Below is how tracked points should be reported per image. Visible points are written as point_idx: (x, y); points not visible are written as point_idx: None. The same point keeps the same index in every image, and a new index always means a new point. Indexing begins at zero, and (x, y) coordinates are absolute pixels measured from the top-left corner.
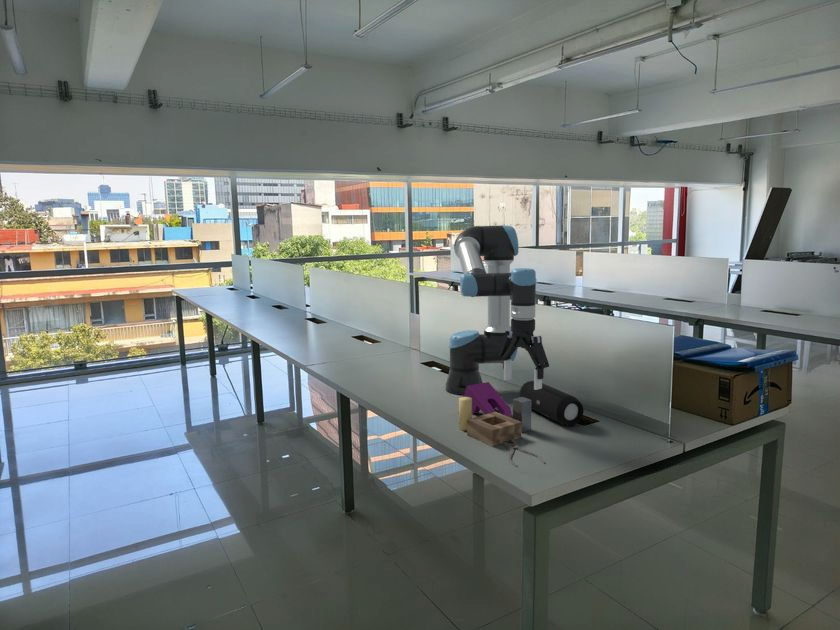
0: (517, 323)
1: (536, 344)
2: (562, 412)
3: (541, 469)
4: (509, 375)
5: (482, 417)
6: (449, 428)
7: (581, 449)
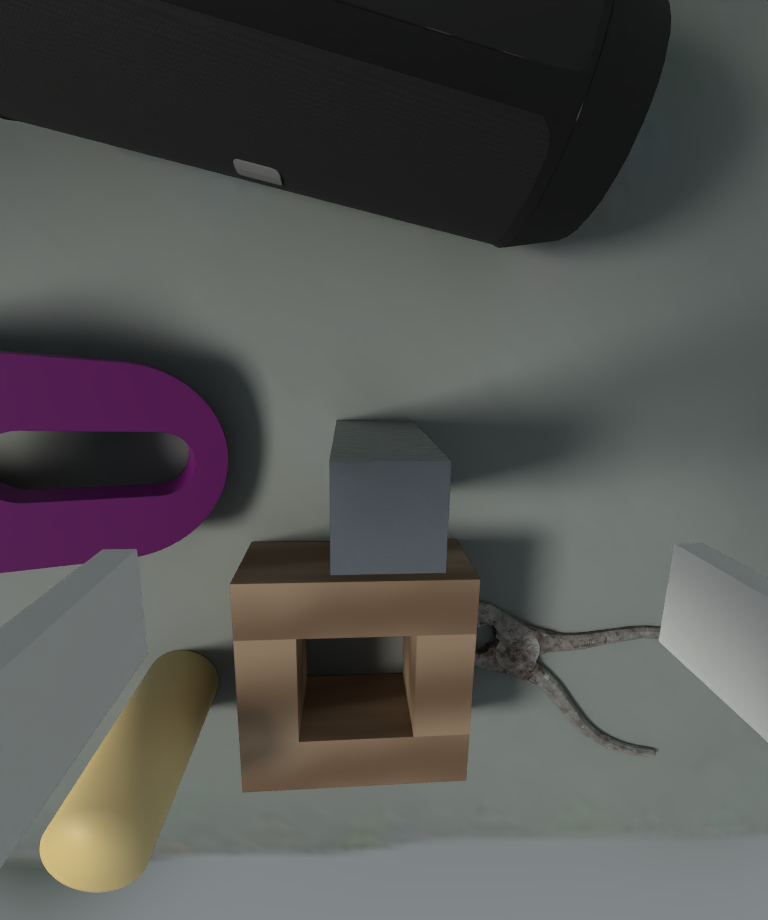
0: None
1: None
2: (567, 233)
3: None
4: (108, 618)
5: (269, 708)
6: None
7: (750, 416)
